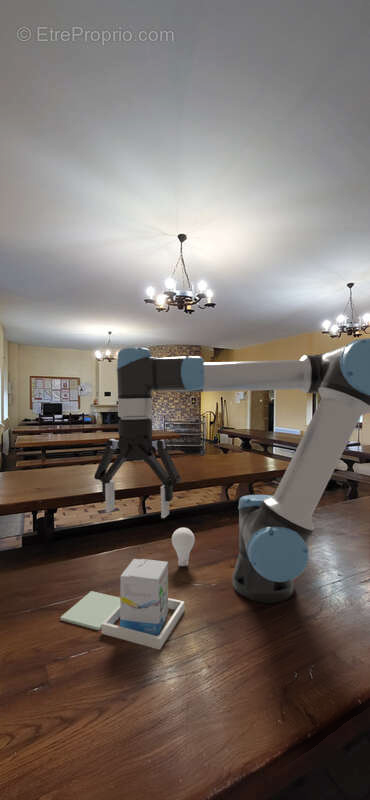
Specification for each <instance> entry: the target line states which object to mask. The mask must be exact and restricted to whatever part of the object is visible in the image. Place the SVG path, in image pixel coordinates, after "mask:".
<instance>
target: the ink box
mask: <svg viewBox="0 0 370 800" xmlns="http://www.w3.org/2000/svg"><path fill="white" fill-rule="evenodd" d="M119 582H120V583H119V584H120V587H119V588H120V593H119V594H120V597H119V598H120V617H119V622H120V623H119V624H120V627H124V628H128V629H132V630H136V631H139V632H143V633H147V634H151V635H155V636H159V635H160V633H161V632H162V630H163V629H162V628H163V626H164V623H165V621H166V618H167V617H168V614H169V608H168V598H169V561H164V560H163V561H162V560H155V559H147V558H133V559H132V560H131V562H130V563H129V564H128V565H127V567H126V568H125V569H124V570H123V572H122V573H121V574H120V581H119Z"/></svg>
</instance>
